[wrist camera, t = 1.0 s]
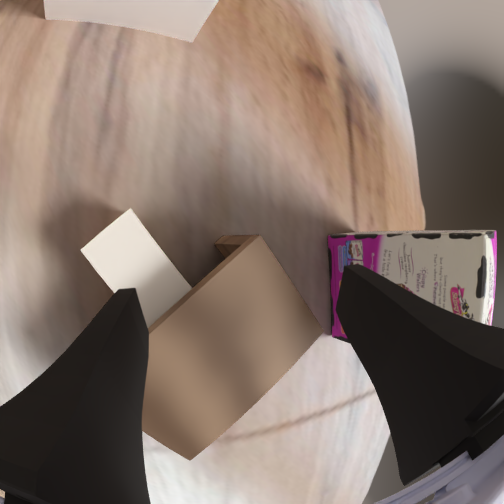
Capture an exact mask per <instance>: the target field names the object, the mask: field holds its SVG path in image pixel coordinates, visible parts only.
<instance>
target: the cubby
mask: <svg viewBox="0 0 504 504" xmlns="http://www.w3.org/2000/svg"><path fill="white" fill-rule="evenodd" d="M214 244H215V245H216V247H217V248H218V250H219V251H220V252H221V254H222V255H223V256H224V258H225V260H224V261H223V262H222V263H220V264H219V265H218V266H217V267H216V268H215V269H214V270H212V271H211V272H210V273H209V274H208V275H207V276H206V277H205V278H203V279H202V280H201V281H200V282H199V283H198V284H197V285H196V286H194V287H193V288H192V289H191V290H190V291H189V292H188V293H187V294H185V295H184V296H183V297H182V298H181V299H180V300H179V301H178V302H176V303H175V304H174V305H173V306H172V307H171V308H170V309H169V310H168V311H166V312H165V313H164V314H163V315H162V316H161V317H160V318H159V319H158V320H156V321H155V322H154V323H153V324H152V325H151V326H150V327H149V328H148V331H149V359H148V367H147V375H146V383H145V391H144V400H143V410H142V431H143V432H145V433H146V434H148V435H149V436H151V437H152V438H154V439H155V440H157V441H158V442H160V443H161V444H163V445H165V446H166V447H168V448H169V449H171V450H173V451H174V452H176V453H178V454H179V455H181V456H183V457H185V458H186V459H188V460H192V459H193V458H194V457H195V456H197V455H198V454H199V453H200V452H201V451H203V450H204V449H205V448H206V447H208V446H209V445H210V444H211V443H212V442H213V441H215V440H216V439H217V438H218V437H219V436H220V435H222V434H223V433H224V432H225V431H226V430H227V429H228V428H230V427H231V426H232V425H233V424H234V423H235V422H236V421H237V420H238V419H239V418H241V417H242V416H243V415H244V414H245V413H246V412H247V411H248V410H249V409H250V408H251V407H252V406H253V405H254V404H255V403H257V402H258V401H259V400H260V399H261V398H262V397H263V396H264V395H265V394H266V393H267V392H268V391H269V390H270V389H271V388H272V387H273V386H274V385H275V384H276V383H277V382H278V381H279V380H280V379H281V378H282V377H283V376H284V374H285V373H286V372H287V371H288V370H289V369H290V368H291V367H292V366H293V365H294V364H295V363H296V362H297V361H298V360H299V359H300V357H301V356H302V355H303V354H304V353H305V352H306V351H307V350H308V349H309V348H310V346H311V345H312V344H313V343H314V342H315V341H316V340H317V338H318V337H319V336H320V335H321V334H322V333H323V332H324V330H323V329H322V327H321V326H320V324H319V323H318V321H317V320H316V318H315V317H314V315H313V313H312V312H311V310H310V309H309V307H308V306H307V304H306V303H305V301H304V300H303V298H302V297H301V295H300V294H299V292H298V291H297V289H296V288H295V286H294V285H293V283H292V281H291V280H290V278H289V277H288V275H287V274H286V272H285V271H284V269H283V268H282V266H281V265H280V263H279V262H278V260H277V259H276V257H275V256H274V254H273V253H272V251H271V250H270V248H269V247H268V245H267V244H266V242H265V241H264V239H263V238H262V237H261V235H231V236H222V237H221V238H220V239H219V240H218V241H216V242H215V243H214Z"/></svg>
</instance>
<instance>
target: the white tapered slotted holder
mask: <svg viewBox="0 0 504 504" xmlns="http://www.w3.org/2000/svg"><path fill="white" fill-rule="evenodd" d="M218 1H219V0H44V9H45V18H46V20H69V21H83V22H93V23H101V24H109V25H116V26H122V27H128V28H133V29H138V30H143V31H148V32H152V33H157V34H161V35H165V36H169V37H173V38H177V39H180V40H184V41H188V42H191V43H193V41H194V39H195V37H196V36H197V34H198V32H199V31H200V29H201V27H202V26H203V24H204V23H205V21H206V19H207V18H208V16H209V15H210V13H211V12H212V10H213V9H214V7H215V6H216V4H217V3H218Z"/></svg>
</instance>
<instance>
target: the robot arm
mask: <svg viewBox="0 0 504 504" xmlns="http://www.w3.org/2000/svg"><path fill="white" fill-rule="evenodd" d="M335 310H336V313H337V315H338V318H339V321H340V323H341V326H342V328H343V330H344V333H345V334H346V336H347V338H348V340H349V342H350V343H351V345H352V347H353V349H354V350H355V352H356V354H357V356H358V357H359V359H360V361H361V363H362V364H363V366H364V368H365V370H366V372H367V373H368V375H369V377H370V379H371V381H372V383H373V385H374V387H375V389H376V392H377V395H378V397H379V400H380V402H381V405H382V407H383V410H384V413H385V416H386V419H387V422H388V425H389V429H390V432H391V436H392V439H393V443H394V447H395V452H396V457H397V462H398V467H399V474H400V478H401V481H402V483H403V485H404V486H405V485H407V484H409V483H411V482H413V481H414V480H416V479H418V478H420V477H422V476H423V475H425V474H427V473H429V472H430V471H432V470H434V469H435V468H437V467H438V466H441V469H439V470H437V471H436V472H434V473H432V474H431V475H429V476H427V477H426V478H424V479H422V480H420V481H419V482H417V483H415V484H413V485H411V486H409V487H407V488H406V489H404V490H402V491H400V492H398V493H396V494H394V495H392V496H389V497H388V498H385V499H383V500H381V501H378V502H376V503H374V504H416V503H418V502H420V501H421V500H423V499H425V498H426V497H428V496H429V495H431V494H433V493H435V492H436V493H435V497H434V499H433V500H431V501H429V502H427V503H425V504H504V329H502V328H498V327H494V326H490V325H486V324H483V323H480V322H477V321H474V320H471V319H468V318H465V317H462V316H460V315H457V314H455V313H452V312H450V311H448V310H446V309H443V308H441V307H439V306H437V305H435V304H432V303H431V302H429V301H427V300H425V299H423V298H421V297H419V296H417V295H415V294H413V293H412V292H410V291H408V290H406V289H404V288H403V287H401V286H399V285H397V284H396V283H394V282H392V281H390V280H389V279H387V278H385V277H383V276H381V275H380V274H378V273H376V272H374V271H372V270H370V269H369V268H367V267H364V266H362V265H360V264H354V265H346V266H344V268H343V274H342V279H341V284H340V290H339V295H338V299H337V304H336V309H335ZM148 359H149V331H148V328H147V325H146V321H145V318H144V315H143V312H142V309H141V305H140V302H139V298H138V295H137V292H136V288H125V289H118V290H117V291H116V292H115V294H114V295H113V296H112V297H111V298H110V299H109V301H108V302H107V303H106V304H105V305H104V307H103V308H102V309H101V310H100V312H99V313H98V314H97V315H96V316H95V318H94V319H93V320H92V321H91V322H90V324H89V325H88V326H87V327H86V328H85V330H84V331H83V332H82V333H81V334H80V335H79V336H78V337H77V339H76V340H75V341H74V342H73V343H72V344H71V345H70V347H69V348H68V349H67V350H66V351H65V352H64V353H63V354H62V355H61V356H60V357H59V358H58V359H57V360H56V361H55V362H54V363H53V364H52V365H51V366H50V367H49V368H48V369H47V370H46V371H45V372H44V373H43V374H41V375H40V376H39V377H38V378H37V379H35V380H34V381H33V382H32V383H31V384H30V385H28V386H27V387H26V388H25V389H24V390H23V391H21V392H20V393H19V394H17V395H16V396H15V397H13V398H12V399H11V400H9V401H8V402H6V403H5V404H3V405H2V406H0V489H1V490H3V491H5V498H3V497H1V496H0V504H151V503H150V499H149V494H148V488H147V481H146V474H145V466H144V456H143V442H142V410H143V400H144V391H145V383H146V375H147V367H148Z"/></svg>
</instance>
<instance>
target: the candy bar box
mask: <svg viewBox="0 0 504 504" xmlns="http://www.w3.org/2000/svg"><path fill="white" fill-rule="evenodd" d="M496 243H497V242H496V231H494V230H456V231H455V230H449V231H448V230H447V231H372V232H352V233H342V234H332V235H328V252H329V266H330V284H331V306H332V337H333V338H337V339H339V340H342V341H345V342H348V343H350V342H349V340H348V338H347V336H346V334H345V333H344V330H343V328H342V326H341V323H340V321H339V318H338V315H337V313H336V310H335V309H336V304H337V299H338V295H339V290H340V284H341V279H342V274H343V268H344V266H346V265H354V264H360V265H362V266H364V267H367V268H369V269H370V270H372V271H374V272H376V273H378V274H380V275H381V276H383V277H385V278H387V279H389V280H390V281H392V282H394V283H396V284H397V285H399V286H401V287H403V288H404V289H406V290H408V291H410V292H412V293H413V294H415V295H417V296H419V297H421V298H423V299H425V300H427V301H429V302H431V303H432V304H435V305H437V306H439V307H441V308H443V309H446V310H448V311H450V312H452V313H455V314H457V315H460V316H462V317H465V318H468V319H471V320H474V321H477V322H480V323H483V324H486V325H490V326H491V324H492V317H493V307H494V297H495V285H496V258H497V255H496V254H497V248H496V247H497V245H496Z"/></svg>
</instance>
